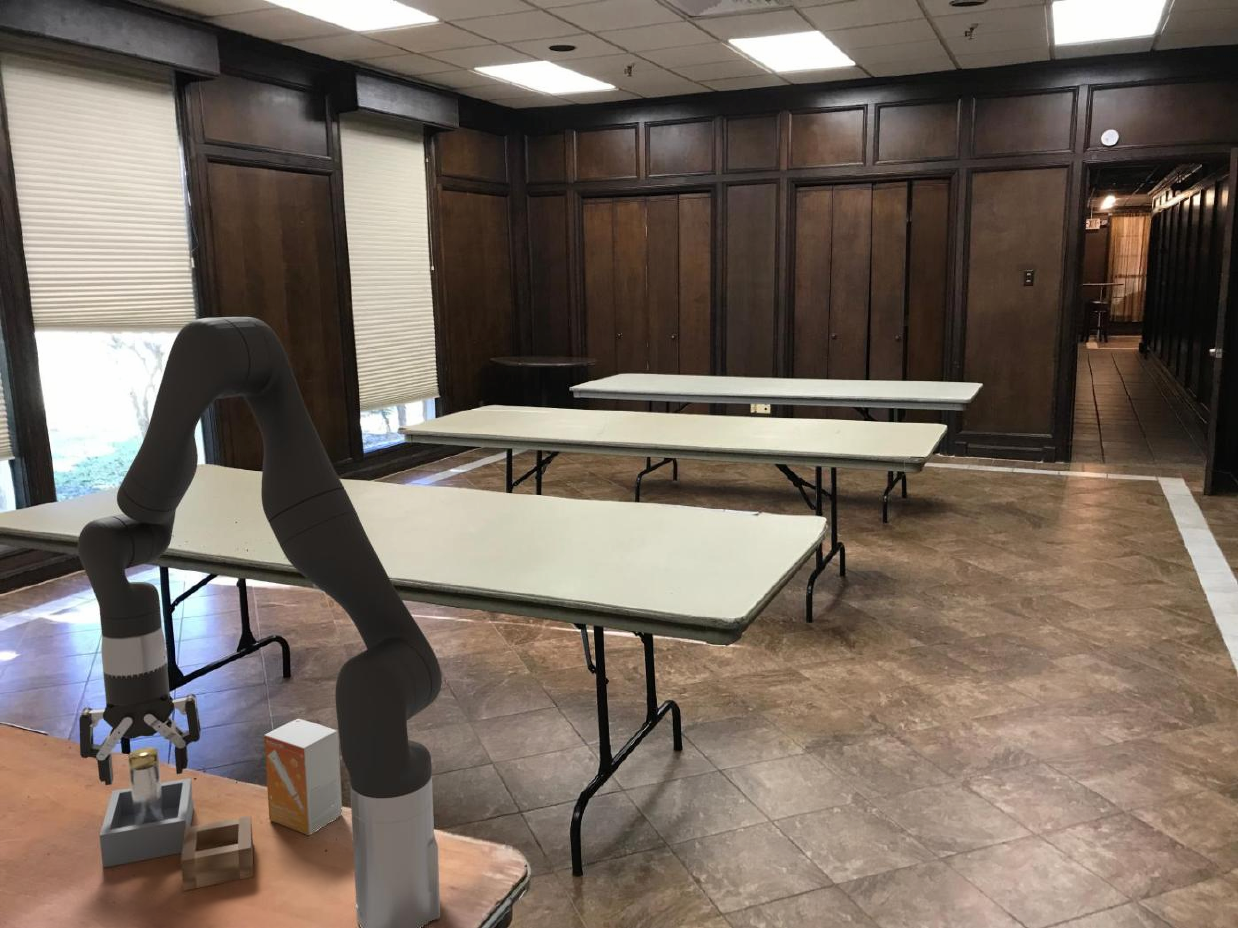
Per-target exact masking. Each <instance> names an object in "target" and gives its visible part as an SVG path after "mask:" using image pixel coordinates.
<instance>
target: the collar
mask: <svg viewBox="0 0 1238 928" xmlns="http://www.w3.org/2000/svg"><path fill="white" fill-rule="evenodd" d="M252 824H253V823H252V815H248V816H243V817H237V818H232V819H231V818H230V819H226V820H221V821H215V822H209V823H203V824H198V825H193V826H192V825H191V827H186V828H185V834H184V842H183V849H182V853H181V856H180V857H181V858H180V863H181V864H180V867H181V875H182V889H183V891H188V890H194V889H198V888H203V887H208V886H213V885H218V884H223V883H227V882H232V881H233V882H234V881H237V880H243V879H247V878H253V877H254V838H253V827H252V826H253V825H252Z"/></svg>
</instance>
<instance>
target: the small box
mask: <svg viewBox="0 0 1238 928" xmlns="http://www.w3.org/2000/svg"><path fill="white" fill-rule="evenodd" d="M263 737H264V739H263V740H264V753H265V756H264V757H265V771H266V790H267V801H268V802H267V803H268V820H269V821H271V822H274V823H276V824H277V823H278V824H280V825H282V826H283V827H284V826H285V827H287V828H290V829H292V830H295V831H298V832H299V833H302V834H304V835H306V834H307V835H306V836H308V835H310V834H311V833H313V834H315V833H316V832H317V831H316V830H317V829H319V828H320V827H322V826H324V827H326V826H327V825H326V824H327V823H328V822H330V821H332V820H334V819H335V818H337V817H339V816H340V815H341V813H342V814H343V804H342V803H343V802H342V801H343V800H342V784H341V783H342V780H341V766H340V764H341V763H340V748H339V747H340V742H339V730H337V729H334V728H330V727H328V726H324V725H323V724H319V723H316V722H311V721H308V720H305V719H301V718H297V719H294V720H291V721H289V722H288V723H285V724H283V725H281V726H280V727H277V728H275V729H273V730H271V731H270V732H267V733H266V734H265V733H264V735H263ZM332 805H333V806H332ZM341 808H342V809H341ZM340 817H341V816H340ZM340 817H339V818H340ZM337 819H338V818H337ZM334 821H335V820H334ZM332 822H333V821H332ZM325 825H326V826H325ZM315 831H316V832H315ZM314 832H315V833H314ZM310 836H311V835H310Z"/></svg>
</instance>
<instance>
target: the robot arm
mask: <svg viewBox="0 0 1238 928" xmlns="http://www.w3.org/2000/svg"><path fill="white" fill-rule="evenodd" d="M234 397H235V398H236V397H243V399H244V401H245V402H246V403H247V405H248V408H250V412H251V413H252V415H253V417H254V419H255V421H256V424H257V426H258V428H259V431H260V434H261V435H260V436H261V438H262V442H263V444H262V445H263V446H262V447H263V461H262V473H261V505H262V510H263V513H264V515H265V517H266V520H267V522H268V524H269V526H270V528H271V530H272V533H273V534H274V536H275V538H276V541H277V543H278V544H279V547H280V549H281V551H282V552H283V554H284V556H285V558H286V559H287V560H288V562H289V563H290V564H291V565H292V566H293V567H294V568H295V569H296V571H298V572H299V574H300V575H302V576H303V577H305V579H307V580H308V581H309V582H310V583H312V584H313V585H315V587H316V588H319V589H320V590H321V591H322V592H323V593H325V594H326V595H327V596H329V597H330V598H332V600H333V601H335V602H336V603H337V604H338V605H339V606H340V607H341V608H342V609H343V610H344V611H345V613H346V614H348V617H350V619H351V621H352V622H353V624H354V625H355V628H356V629H357V632H358V633H359V635H360V637H361V639H362V640H363V643H364V645H365V648H366V650H364V651H362V652H360V653H358V654H357V655H355V656H353V657H351V658H349V660H347V661H345V663H343V665H342V666H341V668H340V670H339V672H338V674H337V677H336V682H335V691H334V692H335V697H334V698H335V711H336V718H337V728H338V739H339V747H340V748H339V749H340V752H341V757H342V760H343V763H344V766H345V767H346V770H347V772H348V774H349V785H350V786H349V787H350V789H349V790H350V791H349V792H350V793H349V794H350V807H351V809H350V811H351V826H352V827H351V829H352V842H353V843H352V847H353V866H354V867H353V868H354V870H353V871H354V884H355V885H354V886H355V887H354V889H355V908H356V909H355V910H356V921H357V920H358V922H357V924H358V923H359V924H358V926H359V925H361V927H362V928H420V927H422V926H424V925H425V926H427V925H428V924H429V923H431V922H433V921H436V920H435V919H437V920H440V919H441V900H440V873H439V871H440V868H439V846H438V841H437V838H436V836H435V829H434V828H435V827H434V826H435V824H434V822H435V821H434V800H433V799H434V797H433V776H432V775H433V772H432V771H433V770H432V769H433V767H432V756H431V754H430V751H429V749H428V748H427V747H426V746H425V745H424V744H423V743H420V742H417V741H413V740H410V739H409V735H408V723H407V721H409V720H410V719H412V718H413V717H414V716H416V715H418V714H419V713H421V712H423V710H425V709H427V708H428V707H429V706H430V705H431V704H433V703H434V702H435V700H437V699H438V696H439V695H440V692H441V689H442V683H443V681H442V679H443V677H442V676H443V675H442V670H441V667H440V664H439V660H438V658H437V656H436V653H435V652H434V649H433V648H432V646H431V644H430V642H429V641H428V639H427V638H426V636H425V634H424V633H423V632H422V630H421V628H420V627H419V625H418V623H417V621H416V620H415V619H414V617H413V616H412V613H411V612H410V610H409V609H408V608H407V606H406V604H405V602H404V601H403V599H402V597H400V594H399V593H398V591H397V590H396V588H395V586H394V584H393V582H392V581H391V579H390V577H389V575H388V573H387V571H386V570H385V567H384V566H383V563H382V561H381V559H380V558H379V556H378V554H377V553H376V550H375V548H374V547H373V545H372V543H371V541H370V538H369V537H368V535H367V533H366V531H365V529H364V527H363V524H362V522H361V520H360V518H359V515H358V513H357V509H356V508H355V506H354V505H353V503H352V500H351V498H350V497H349V494H348V492H347V491H346V489H345V486H344V484H343V483H342V481H341V479H340V477H339V476H338V474H337V472H336V470H335V468H334V466H333V464H332V462H331V460H330V457H329V455H328V453H327V451H326V449H325V447H324V445H323V442H322V440H321V439H320V436H319V434H318V431H317V429H316V427H315V425H314V423H313V421H312V418H311V416H310V414H309V412H308V409H307V407H306V404H305V402H304V401H305V400H304V399H303V396H302V393H301V390H300V388H299V385H298V382H297V380H296V376H295V374H294V371H293V368H292V366H291V363H290V361H289V358H288V356H287V353H286V351H285V348H284V346H283V344H282V342H281V340H280V338H279V337H278V335H277V334H276V332H275V331H274V329H272V328H271V326H270V325H268V324H267V323H266V322H265V321H263V320H261V319H258V318H256V317H251V316H230V317H229V316H225V317H205V318H198V319H195V320H194V319H193V320H192V321H189V322H188V323H186V324H185V325H184V326H182V328H181V329H180V331H179V332H178V333H177V335H176V337H175V339H174V341H173V344H172V346H171V348H170V352H169V354H168V357H167V360H166V364H165V367H164V371H163V374H162V379H161V381H160V385H159V388H158V391H157V395H156V399H155V402H154V404H153V405H154V406H153V410H152V413H151V417H150V420H149V423H148V427H147V430H146V433H145V435H144V438H143V441H142V442H141V445H140V447H139V449H138V451H137V454H136V455H135V456H134V459H133V460H132V462H131V465H130V466H129V468H128V470H127V472H126V473H125V476H124V477H123V480H122V482H121V484H120V486H119V488H118V491H117V493H116V503H117V506H118V509H120V511H121V513H120V514H115V515H111V516H107V517H102V518H97V519H94V520H92V521H89V522H88V523H87V524H85V526H83V528H82V530H81V531H80V533H79V535H78V540H77V546H76V547H77V554H78V557H79V559H80V560H79V561H80V562H81V565H82V567H83V569H84V571H85V574H86V576H87V579H88V580H89V582H90V585H91V588H92V591H93V593H94V596H95V598H96V601H97V604H98V607H99V608H98V609H99V618H100V628H101V631H100V632H101V646H100V647H101V648H100V650H101V663H102V674H103V683H104V694H105V708H103V709H94V710H93V708H91V707H87V706H86V707H85V708H83V709H82V710H81V714H80V716H79V719H78V720H79V721H78V722H79V750H80V751H79V755H80V757H81V758H82V759H88V758H92V759H95V760H96V761H97V762H96V763H97V769H98V779H99V781H100V782H101V783H102V782H104V785H105V786H111V785H112V784H113V783H114V782H113V781H114V770H113V769H114V768H113V759H112V752H111V751H112V750H113V749H114V748H115V747H116V745H117V744H118V743H119V742H120V740H121V738H126V739H127V740H131V739H136V738H138V737H153V736H155V734H157V733H158V734H159V735H161V736H162V738H164V739H165V740H167V741H169V742H171V744H173V746H174V759H175V770H176V771H175V772H176V775H180V774H183V771H184V770H185V769H187V767H188V764H189V757H188V755H189V754H188V746H189V744H191V743H197V742H198V741H200V738H201V730H202V729H201V723H200V715H199V709H198V703H197V697H196V695H195V694H194V693H189V694H188V695H187V696H186V697H181V698H176V699H174V698H173V697H172V696H171V693H170V685H169V684H170V683H169V682H170V681H169V672H168V671H169V670H168V659H167V656H168V650H167V648H166V641H165V640H166V639H165V635H164V632H163V626H162V625H163V624H162V623H163V622H162V613H161V600H160V594H159V591H158V588H157V587H156V586H155V585H154V584H152V583H150V582H145V581H129V580H128V577H127V576H126V569H131V568H134V567H139V566H141V565H145V564H148V563H152V562H154V561H155V560H157V559H159V558H160V557H161V556H163V554H164V553H165V552H166V551H167V549H168V548H169V547H170V544H171V540H172V537H173V529H174V525H175V519H176V513H177V512H176V511H177V508H178V506H179V504H180V503H181V502H182V500H183V498H184V497H185V495H186V492H187V491H188V490H189V488H190V486H191V485H192V484H191V483H192V482H193V480H194V478H195V474H196V473H197V469H198V461H199V455H198V454H199V453H198V446H197V442H196V429H197V428H196V427H197V425H198V423H199V421H200V420H201V418H202V416H203V415H204V414H205V412H206V411H207V410H208V409H209V407H211V405H212V404H213V402H214V401H216V399H227V398H234ZM175 709H176V710H178V711H179V712H180V714H181V715H183V716H186V721H187V727H188V728H187V729H188V730H186V731H183V730H182V729H181V728H180V727H179V726H178V725H177V723H176V722H175V721H174V720H173V719H172V718H171V717H170V716H171V715H172V713H173V712H174V710H175ZM100 720H103V721H105V722H106V724H108V725H109V727H111V729H110V731H109V732H108V734H107V736H106V737H105V738H104V740H103V741H102V743H101V744H98V743H97V744H96V743H94V728H96V727H97V726H98V725H99V722H100ZM439 918H440V919H439ZM432 920H433V921H432ZM430 921H431V922H430ZM428 922H429V923H428ZM426 924H427V925H426ZM425 926H424V927H425Z"/></svg>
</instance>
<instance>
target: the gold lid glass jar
mask: <svg viewBox="0 0 1238 928" xmlns="http://www.w3.org/2000/svg"><path fill="white" fill-rule="evenodd" d="M159 757H160V756H159V750H158V748H157V747H154V746H153V747H152V746H147V747H141V748H138V749H134V750H132V751H131V752H130V753H129V754H128V755H127V760H128V767H129V768H128V769H129V778H130V788H131V792H132V802H133V813H134V824H135V825H140V824H146V823H151V822H157V821H163V820H164V811H163V800H162V788H161V783H162V780H161V768H160V758H159Z"/></svg>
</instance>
